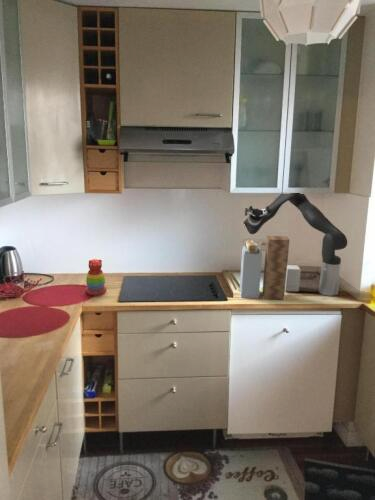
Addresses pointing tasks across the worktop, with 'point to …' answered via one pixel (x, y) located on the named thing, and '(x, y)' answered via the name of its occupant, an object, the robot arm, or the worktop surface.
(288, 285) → the supplement box
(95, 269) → the stacking bear
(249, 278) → the holder
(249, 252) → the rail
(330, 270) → the robot arm
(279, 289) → the walnut block
